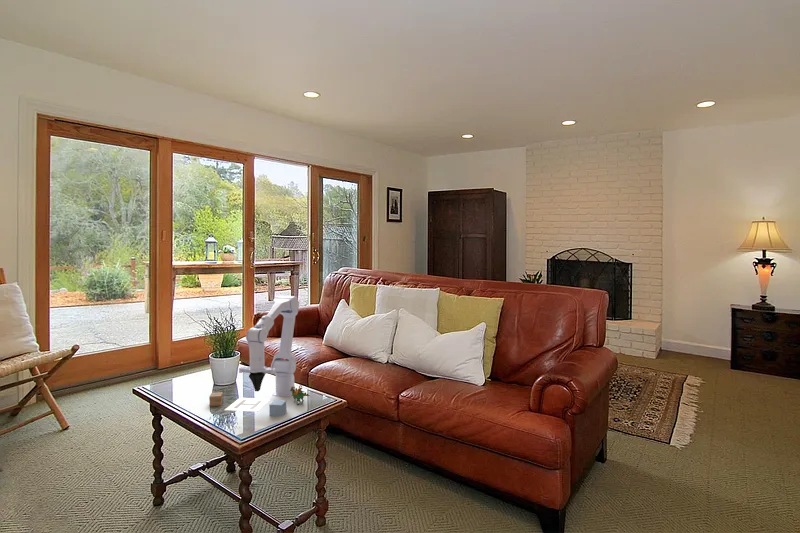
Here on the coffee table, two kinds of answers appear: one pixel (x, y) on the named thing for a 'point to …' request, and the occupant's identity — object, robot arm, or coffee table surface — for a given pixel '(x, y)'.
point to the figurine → (298, 394)
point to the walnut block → (216, 399)
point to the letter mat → (247, 404)
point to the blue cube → (277, 408)
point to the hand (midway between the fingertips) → (257, 390)
